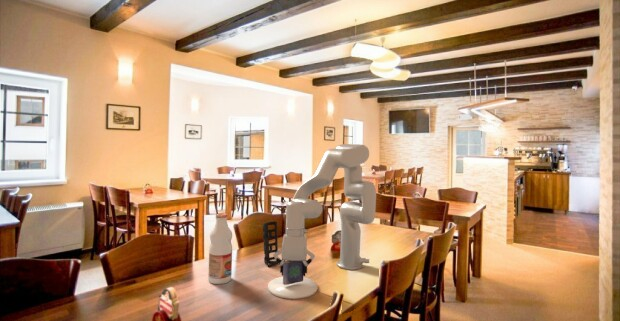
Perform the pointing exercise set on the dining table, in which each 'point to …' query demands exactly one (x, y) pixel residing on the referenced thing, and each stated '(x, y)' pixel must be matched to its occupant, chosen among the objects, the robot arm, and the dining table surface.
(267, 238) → the holder
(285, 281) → the flask
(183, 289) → the dining table surface
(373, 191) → the robot arm
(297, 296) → the plate
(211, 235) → the fruit juice
